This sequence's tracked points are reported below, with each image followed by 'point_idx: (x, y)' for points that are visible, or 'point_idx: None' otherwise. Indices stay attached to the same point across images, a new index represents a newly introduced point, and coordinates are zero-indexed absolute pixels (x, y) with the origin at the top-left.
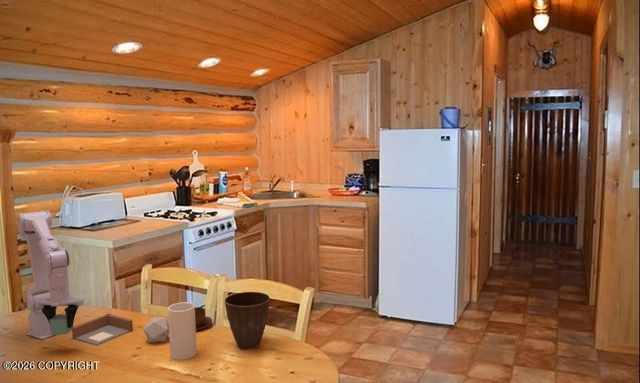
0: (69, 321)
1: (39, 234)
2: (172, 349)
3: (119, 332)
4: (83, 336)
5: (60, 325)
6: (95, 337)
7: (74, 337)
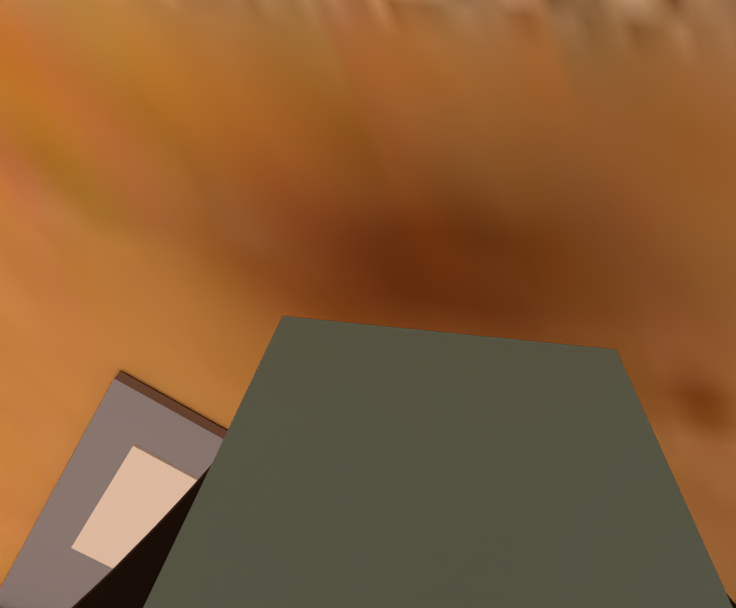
0: (125, 573)
1: None
2: None
3: (57, 586)
4: None
5: (366, 464)
6: None
7: None
